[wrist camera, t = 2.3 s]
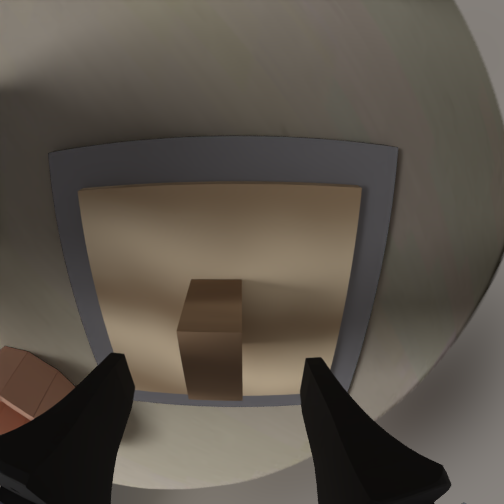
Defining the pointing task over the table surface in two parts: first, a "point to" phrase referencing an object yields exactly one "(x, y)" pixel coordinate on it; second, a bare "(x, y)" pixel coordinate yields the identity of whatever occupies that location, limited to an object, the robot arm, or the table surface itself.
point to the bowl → (27, 388)
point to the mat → (232, 169)
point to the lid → (221, 280)
